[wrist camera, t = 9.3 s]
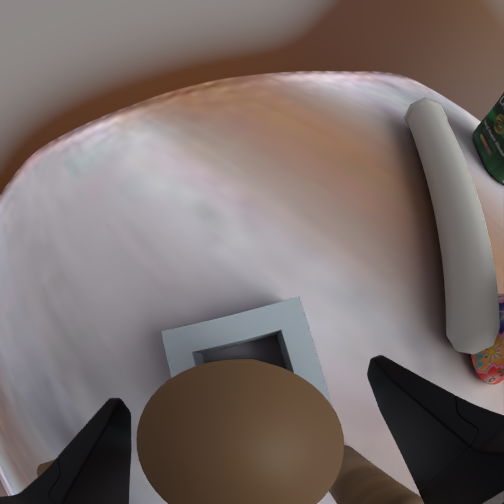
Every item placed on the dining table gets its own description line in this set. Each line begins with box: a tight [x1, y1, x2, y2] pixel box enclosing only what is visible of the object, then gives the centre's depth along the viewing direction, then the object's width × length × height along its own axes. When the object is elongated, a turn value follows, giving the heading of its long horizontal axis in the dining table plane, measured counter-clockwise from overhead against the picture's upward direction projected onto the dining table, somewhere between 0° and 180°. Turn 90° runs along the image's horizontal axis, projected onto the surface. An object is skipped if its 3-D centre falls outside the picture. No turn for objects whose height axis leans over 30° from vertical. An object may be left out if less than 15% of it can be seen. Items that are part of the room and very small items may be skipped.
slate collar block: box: [161, 297, 333, 407], centre depth 14 cm, size 8×8×3 cm
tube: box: [404, 98, 500, 354], centre depth 18 cm, size 5×5×25 cm
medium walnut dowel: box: [329, 445, 424, 504], centre depth 9 cm, size 3×3×9 cm
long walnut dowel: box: [137, 359, 344, 504], centre depth 9 cm, size 3×3×14 cm
